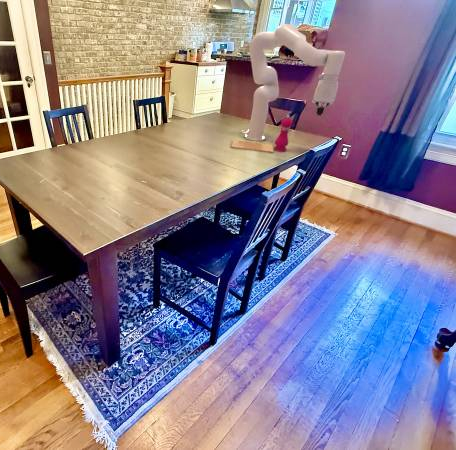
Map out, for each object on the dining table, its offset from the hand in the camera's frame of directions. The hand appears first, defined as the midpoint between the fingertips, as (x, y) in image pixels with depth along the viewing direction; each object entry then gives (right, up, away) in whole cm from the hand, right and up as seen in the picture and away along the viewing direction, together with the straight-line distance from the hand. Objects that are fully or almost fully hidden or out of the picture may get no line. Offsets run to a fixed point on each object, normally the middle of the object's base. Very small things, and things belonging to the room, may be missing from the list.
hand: (318, 115), depth 167 cm
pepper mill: (-15, -16, +15) cm, 27 cm away
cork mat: (-31, -13, +19) cm, 38 cm away
